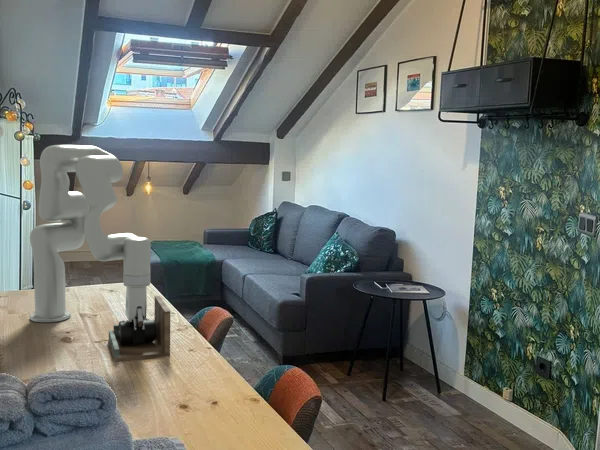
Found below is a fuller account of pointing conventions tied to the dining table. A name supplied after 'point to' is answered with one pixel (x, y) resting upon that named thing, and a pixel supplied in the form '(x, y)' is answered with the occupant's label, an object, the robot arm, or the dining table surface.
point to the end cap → (128, 327)
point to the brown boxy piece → (145, 350)
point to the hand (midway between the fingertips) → (136, 338)
